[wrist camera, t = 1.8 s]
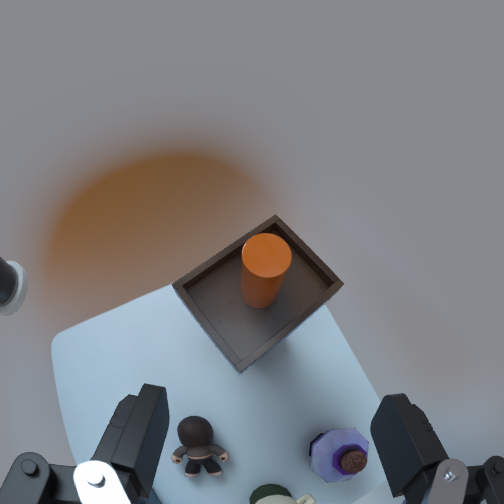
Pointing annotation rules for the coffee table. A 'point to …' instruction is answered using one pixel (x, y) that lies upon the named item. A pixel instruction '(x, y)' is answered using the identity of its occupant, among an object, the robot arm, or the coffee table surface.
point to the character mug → (277, 496)
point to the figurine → (198, 447)
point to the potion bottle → (338, 454)
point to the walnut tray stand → (244, 316)
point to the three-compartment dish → (150, 499)
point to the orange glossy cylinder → (263, 269)
